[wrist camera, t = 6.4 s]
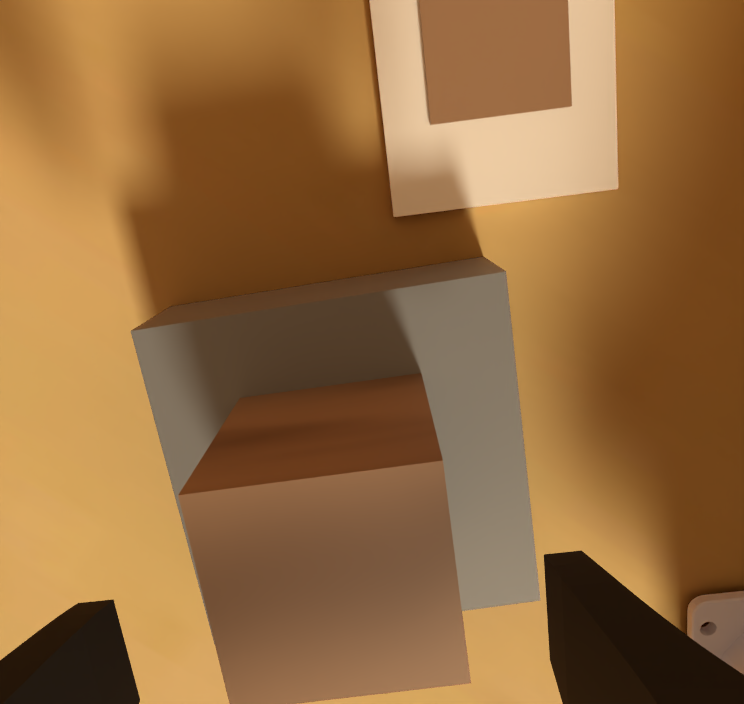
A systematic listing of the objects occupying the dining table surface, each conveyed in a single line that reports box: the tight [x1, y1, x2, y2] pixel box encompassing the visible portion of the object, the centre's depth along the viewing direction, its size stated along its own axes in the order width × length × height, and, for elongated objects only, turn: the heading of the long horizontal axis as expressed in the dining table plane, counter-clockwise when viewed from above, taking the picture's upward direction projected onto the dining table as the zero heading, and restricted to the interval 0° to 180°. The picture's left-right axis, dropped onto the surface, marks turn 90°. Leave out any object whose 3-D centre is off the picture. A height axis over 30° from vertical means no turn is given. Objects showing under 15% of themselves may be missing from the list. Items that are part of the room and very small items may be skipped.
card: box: [369, 0, 618, 217], centre depth 16 cm, size 8×6×1 cm
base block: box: [131, 257, 540, 644], centre depth 18 cm, size 9×9×4 cm
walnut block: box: [178, 373, 471, 704], centre depth 13 cm, size 4×4×5 cm
